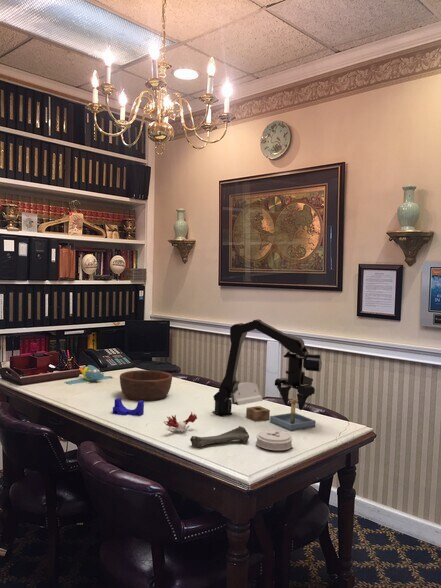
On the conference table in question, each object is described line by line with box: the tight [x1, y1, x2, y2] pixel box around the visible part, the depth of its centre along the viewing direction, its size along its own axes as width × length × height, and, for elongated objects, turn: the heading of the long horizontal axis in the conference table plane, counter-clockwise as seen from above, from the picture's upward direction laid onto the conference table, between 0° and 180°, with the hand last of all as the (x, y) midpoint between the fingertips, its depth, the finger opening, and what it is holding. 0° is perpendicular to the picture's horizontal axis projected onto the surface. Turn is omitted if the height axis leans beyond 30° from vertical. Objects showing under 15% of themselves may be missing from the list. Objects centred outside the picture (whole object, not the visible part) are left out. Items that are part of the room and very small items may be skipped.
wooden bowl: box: [119, 369, 173, 402], centre depth 239 cm, size 25×25×10 cm
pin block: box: [245, 405, 271, 423], centre depth 209 cm, size 7×7×4 cm
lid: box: [255, 429, 293, 451], centre depth 175 cm, size 13×13×5 cm
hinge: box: [230, 381, 263, 406], centre depth 237 cm, size 17×5×10 cm, turn 131°
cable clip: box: [112, 397, 145, 417], centre depth 207 cm, size 12×4×6 cm, turn 75°
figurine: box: [163, 411, 198, 433], centre depth 188 cm, size 15×12×7 cm
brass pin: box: [288, 397, 298, 424], centre depth 202 cm, size 3×3×10 cm
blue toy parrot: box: [63, 364, 114, 385], centre depth 266 cm, size 28×9×15 cm
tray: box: [269, 412, 317, 432], centre depth 202 cm, size 13×13×2 cm
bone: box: [189, 425, 250, 448], centre depth 175 cm, size 22×6×6 cm, turn 114°
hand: (293, 407), depth 202 cm, fingers open, 9 cm apart
